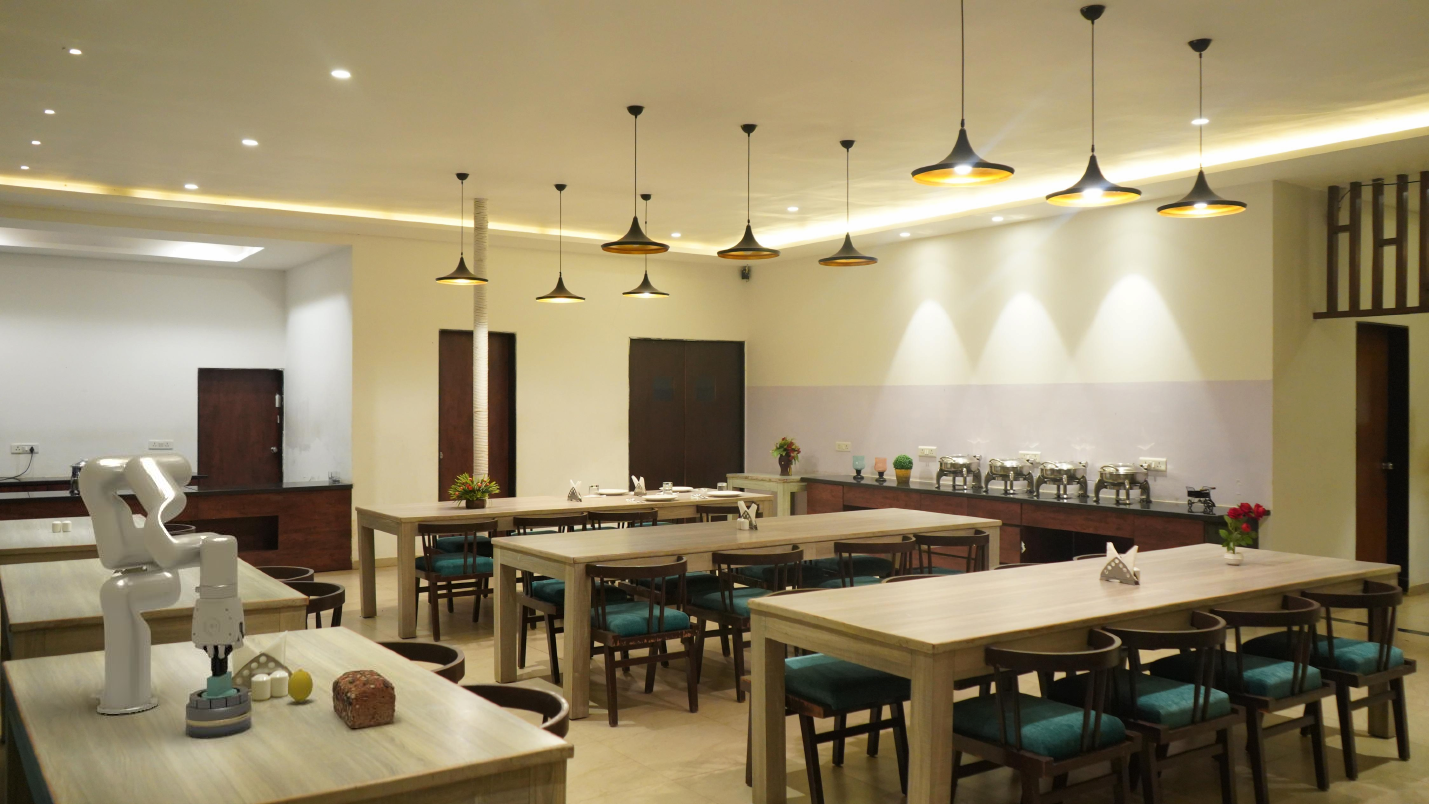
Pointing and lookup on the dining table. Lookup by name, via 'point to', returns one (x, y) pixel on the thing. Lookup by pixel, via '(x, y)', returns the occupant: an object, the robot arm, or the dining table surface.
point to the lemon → (300, 685)
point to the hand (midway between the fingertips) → (219, 674)
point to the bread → (364, 698)
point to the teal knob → (219, 686)
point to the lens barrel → (218, 714)
